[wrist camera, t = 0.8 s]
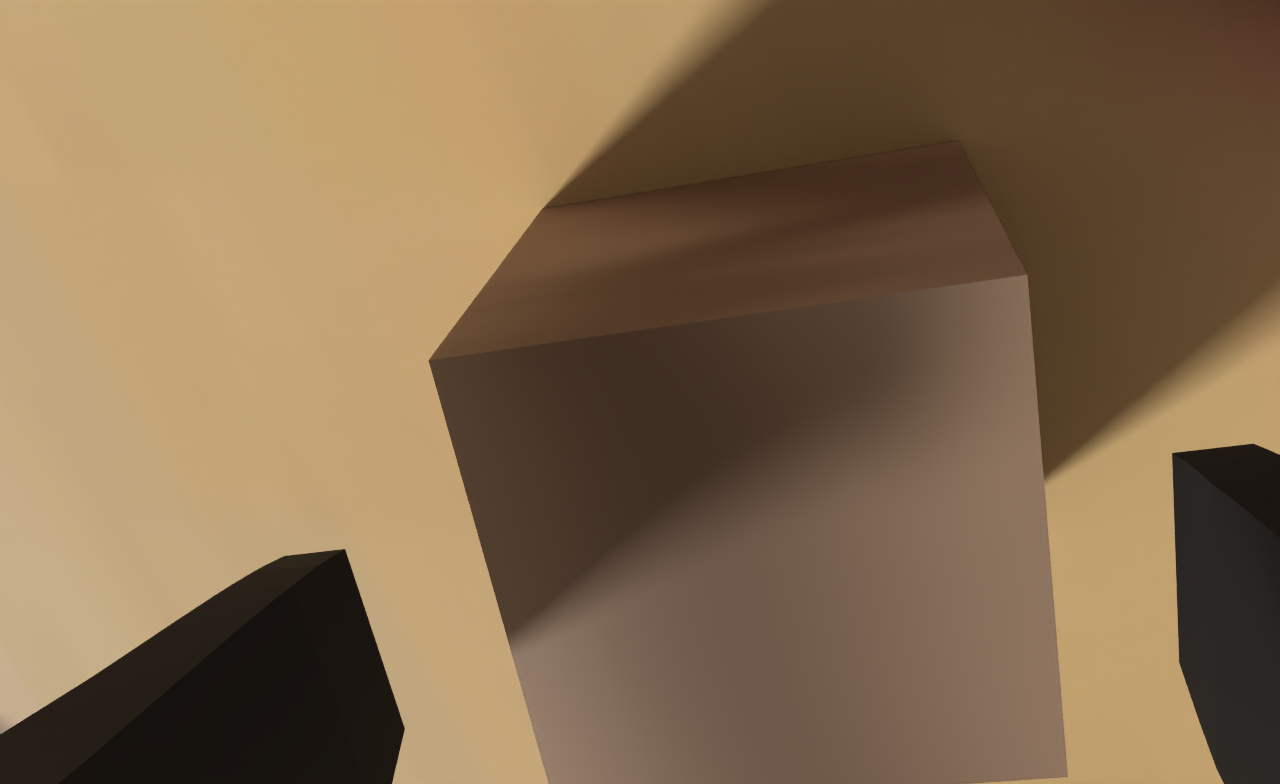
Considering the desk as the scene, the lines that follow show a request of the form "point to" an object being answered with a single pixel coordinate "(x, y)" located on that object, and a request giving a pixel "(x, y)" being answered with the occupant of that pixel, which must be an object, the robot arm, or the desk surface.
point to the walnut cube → (767, 481)
